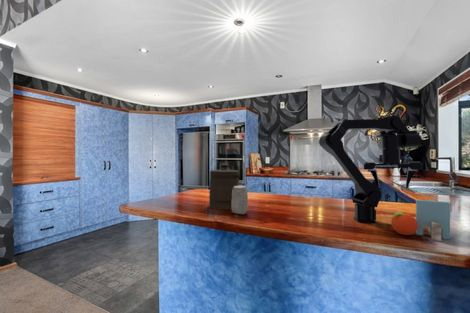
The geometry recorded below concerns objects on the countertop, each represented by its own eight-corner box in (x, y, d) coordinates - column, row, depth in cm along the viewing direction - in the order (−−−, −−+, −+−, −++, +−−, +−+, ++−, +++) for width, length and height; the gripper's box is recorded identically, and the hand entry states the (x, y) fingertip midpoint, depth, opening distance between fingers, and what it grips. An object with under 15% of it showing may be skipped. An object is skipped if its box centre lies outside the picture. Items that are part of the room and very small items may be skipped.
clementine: (397, 238, 70) (397, 215, 70) (383, 231, 77) (383, 210, 77) (423, 238, 70) (423, 215, 70) (406, 231, 77) (406, 210, 77)
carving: (250, 214, 100) (250, 186, 100) (236, 216, 95) (236, 187, 96) (242, 211, 105) (242, 185, 105) (228, 213, 101) (228, 186, 101)
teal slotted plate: (416, 234, 74) (416, 200, 74) (415, 232, 76) (415, 199, 76) (449, 239, 69) (450, 203, 69) (448, 237, 71) (448, 202, 71)
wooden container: (244, 205, 117) (244, 162, 117) (227, 211, 104) (228, 163, 105) (220, 202, 125) (221, 162, 125) (203, 207, 112) (203, 162, 113)
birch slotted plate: (432, 240, 69) (432, 223, 69) (428, 231, 77) (428, 216, 77) (441, 241, 68) (441, 224, 68) (436, 232, 76) (436, 217, 76)
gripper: (419, 147, 91) (420, 186, 91) (365, 149, 102) (366, 184, 102) (422, 146, 82) (423, 190, 82) (363, 149, 93) (364, 187, 93)
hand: (392, 187), depth 90 cm, fingers open, 9 cm apart
